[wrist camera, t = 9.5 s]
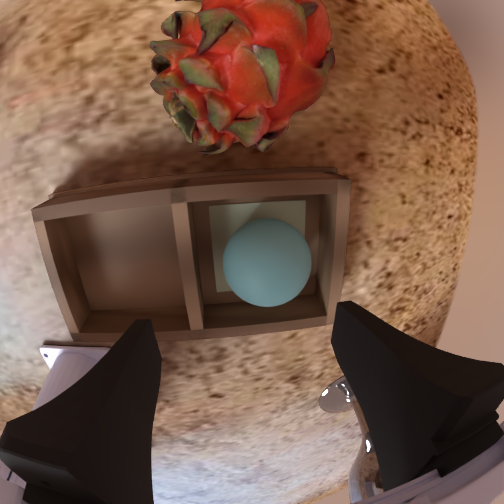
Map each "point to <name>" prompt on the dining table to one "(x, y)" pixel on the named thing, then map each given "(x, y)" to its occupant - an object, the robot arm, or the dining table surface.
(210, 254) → the divided wooden tray
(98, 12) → the dining table surface
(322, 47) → the dragon fruit
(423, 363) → the robot arm
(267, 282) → the ball
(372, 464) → the wine glass
